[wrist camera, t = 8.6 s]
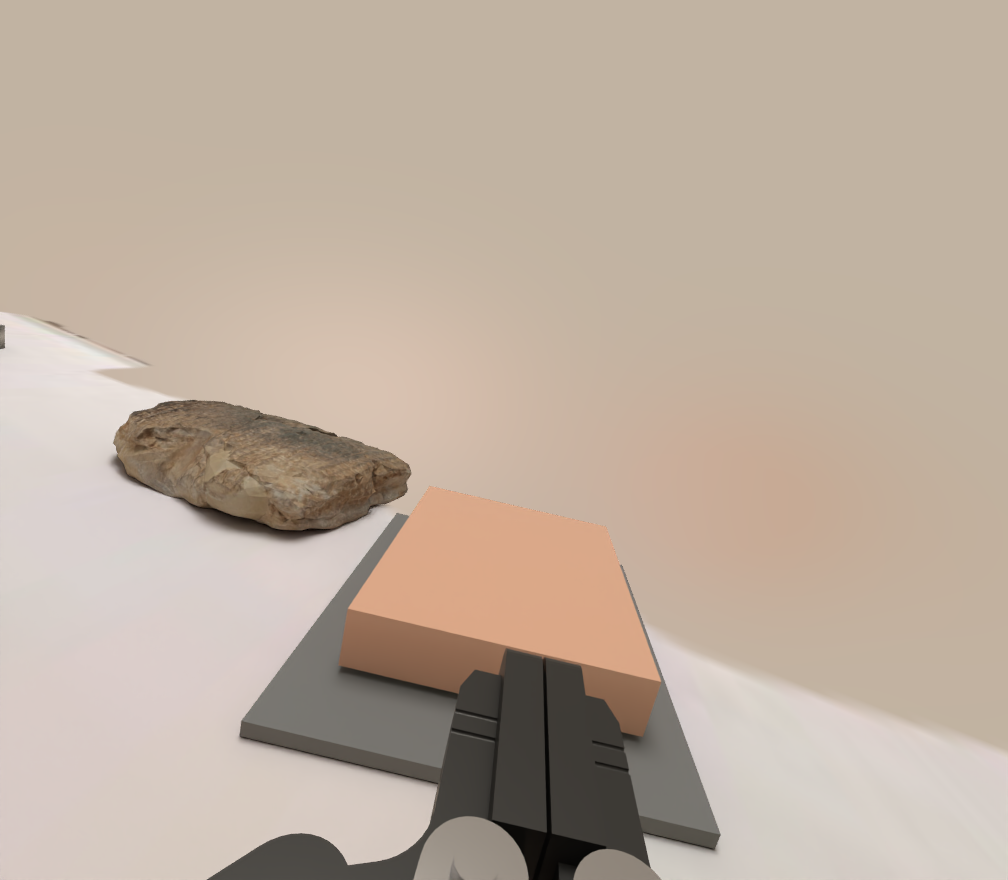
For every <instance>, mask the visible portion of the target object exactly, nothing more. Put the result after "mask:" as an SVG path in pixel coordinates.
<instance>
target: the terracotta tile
mask: <svg viewBox="0 0 1008 880" xmlns="http://www.w3.org/2000/svg"><path fill="white" fill-rule="evenodd" d="M506 648H507V649H512V650H516V651H520V652H525V653H529V654H533V655H537V656H542V659H543V658H544V657H547V658H551V659H555V660H560V661H564V662H568V663H573V664H577V665H580V666H581V668H582V673H583V680H584V687H585V694H586V695H587V696H591V697H596V698H600V699H604V700H605V702H606V703H607V705H608V706H609V708H610V710H611V711H612V713H613V714H614V716H615V717H616V719H617V720H618V722H619V725H620V729H621V732H624V733H628V734H632V735H636V736H641V737H643V735H644V732H645V729H646V726H647V723H648V720H649V717H650V714H651V711H652V708H653V705H654V702H655V699H656V696H657V693H658V691H659V688H660V685H661V679H660V677H659V674H658V671H657V668H656V665H655V663H654V660H653V657H652V654H651V651H650V649H649V646H648V643H647V640H646V637H645V634H644V632H643V629H642V626H641V623H640V620H639V618H638V615H637V612H636V609H635V606H634V604H633V601H632V598H631V595H630V592H629V590H628V587H627V584H626V581H625V578H624V575H623V573H622V570H621V567H620V564H619V561H618V559H617V556H616V553H615V551H614V548H613V545H612V542H611V539H610V536H609V533H608V531H607V528H606V527H605V526H601V525H596V524H592V523H587V522H583V521H579V520H575V519H570V518H566V517H562V516H557V515H553V514H549V513H544V512H540V511H536V510H531V509H527V508H523V507H518V506H514V505H510V504H505V503H501V502H497V501H492V500H488V499H484V498H479V497H475V496H471V495H466V494H462V493H457V492H453V491H449V490H445V489H440V488H436V487H432V486H429V488H428V489H427V491H426V493H425V494H424V496H423V497H422V498H421V500H420V501H419V503H418V504H417V506H416V507H415V509H414V510H413V512H412V513H411V515H410V516H409V518H408V519H407V521H406V522H405V524H404V525H403V527H402V528H401V530H400V531H399V533H398V534H397V536H396V537H395V539H394V540H393V542H392V543H391V545H390V546H389V548H388V549H387V551H386V552H385V554H384V555H383V557H382V558H381V560H380V561H379V563H378V564H377V566H376V567H375V569H374V570H373V572H372V573H371V575H370V576H369V578H368V579H367V581H366V582H365V584H364V585H363V586H362V588H361V589H360V591H359V592H358V594H357V595H356V597H355V598H354V600H353V601H352V603H351V604H350V606H349V607H348V610H347V616H346V622H345V628H344V634H343V640H342V646H341V652H340V658H339V664H338V665H339V666H343V667H348V668H352V669H356V670H360V671H365V672H369V673H373V674H377V675H382V676H386V677H390V678H394V679H399V680H403V681H407V682H411V683H416V684H420V685H424V686H428V687H433V688H437V689H441V690H445V691H450V692H454V693H458V694H459V690H460V686H461V685H462V683H463V682H464V681H465V680H466V679H467V678H468V677H469V676H470V674H471V673H472V672H473V671H474V670H479V671H484V672H488V673H492V674H496V675H499V671H500V667H501V663H502V659H503V655H504V652H505V649H506Z"/></svg>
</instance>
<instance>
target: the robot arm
mask: <svg viewBox="0 0 1008 880" xmlns="http://www.w3.org/2000/svg"><path fill="white" fill-rule="evenodd" d="M207 880H661V879H660V878H659V876H658V875H657V874H656V873H655V872H654V871H653V870H652V869H651V867H650V864H649V860H648V855H647V851H646V846H645V841H644V837H643V832H642V827H641V823H640V818H639V813H638V809H637V804H636V799H635V795H634V790H633V785H632V781H631V776H630V775H629V767H628V762H627V757H626V753H624V743H623V739H622V734H621V729H620V725H619V722H618V720H617V719H616V717H615V716H614V714H613V713H612V711H611V710H610V708H609V706H608V705H607V703H606V702H605V700H604V699H600V698H596V697H591V696H587V695H586V694H585V687H584V680H583V673H582V668H581V666H580V665H577V664H573V663H568V662H564V661H560V660H555V659H551V658H547V657H544V658H543V659H542V656H537V655H533V654H529V653H525V652H520V651H516V650H512V649H507V648H506V649H505V652H504V655H503V659H502V663H501V667H500V671H499V675H496V674H492V673H488V672H484V671H479V670H474V671H473V672H472V673H471V674H470V676H469V677H468V678H467V679H466V680H465V681H464V682H463V683H462V685H461V686H460V690H459V694H458V698H457V702H456V707H455V711H454V715H453V720H452V724H451V728H450V733H449V737H448V741H447V745H446V750H445V754H444V759H443V764H442V768H441V773H440V778H439V783H438V787H437V792H436V797H435V802H434V806H433V811H432V816H431V820H430V824H429V827H428V829H427V830H426V831H425V833H424V834H423V836H422V837H421V838H420V839H419V840H418V841H417V842H416V843H415V844H414V845H413V846H412V847H410V848H409V849H408V850H406V851H405V852H403V853H401V854H399V855H398V856H395V857H392V858H390V859H387V860H382V861H377V862H370V863H363V864H355V865H347V863H346V861H345V859H344V857H343V855H342V854H341V853H340V851H339V850H338V849H337V848H336V847H335V846H334V845H333V844H331V843H330V842H329V841H327V840H325V839H323V838H321V837H318V836H315V835H312V834H302V833H300V834H289V835H285V836H280V837H278V838H275V839H272V840H270V841H268V842H266V843H264V844H263V845H261V846H259V847H257V848H256V849H254V850H253V851H251V852H250V853H248V854H246V855H245V856H243V857H242V858H240V859H239V860H237V861H235V862H234V863H232V864H231V865H229V866H228V867H226V868H224V869H223V870H221V871H220V872H218V873H217V874H215V875H213V876H212V877H210V878H209V879H207Z"/></svg>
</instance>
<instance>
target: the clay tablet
mask: <svg viewBox="0 0 1008 880" xmlns="http://www.w3.org/2000/svg"><path fill="white" fill-rule="evenodd" d="M113 444H114V445H115V446H116V450H117V453H118V455H117V456H118V457H119V459H120V460H121V461H122V462H123V464H124V466H125V469H126V472H127V474H128V475H130V476H132V477H133V478H135V479H137V480H139V481H140V482H142V483H144V484H146V485H148V486H150V487H152V488H153V489H155V490H157V491H159V492H162V493H163V494H165V495H167V496H170V497H178V498H183V499H186V500H187V501H188V502H189V503H191V504H194V505H196V506H199V507H202V508H215V509H218V510H220V511H222V512H225V513H227V514H230V515H233V516H238V517H243V518H249V519H254V520H255V521H257V522H258V523H263V524H266V525H268V526H270V527H271V528H276V529H280V530H304V529H308V528H317V529H334V528H337V527H339V526H341V525H343V524H345V523H348V522H352V521H355V520H357V519H359V518H360V517H362V516H365V515H367V513H368V510H369V507H370V506H373V505H377V504H387V503H389V502H391V501H393V500H395V499H398V498H400V497H402V496H404V495H405V493H406V492H407V490H408V489H407V484H406V481H407V480H408V478H409V477H410V475H411V470H410V467H409V465H408V464H407V463H405V462H404V461H402V460H401V459H399V458H398V457H396V456H395V455H393V454H392V453H390V452H387V451H384V450H379V449H378V448H374V447H371V446H366V445H364V444H363V443H362V442H359V441H355V440H352V439H350V438H347V437H338V436H337V435H335V434H334V433H331V432H326V431H324V430H322V429H320V428H318V427H315V426H310V425H306V424H303V423H300V422H298V421H295V420H288V419H285V418H282V417H278V416H272V415H267V414H263V413H260V411H259V410H258V411H256V410H251V409H248V408H244V407H242V406H234V405H231V404H227V403H225V402H216V401H197V400H187V401H169V402H164V403H159V404H158V405H157V406H155V407H154V408H151V409H147V410H142V411H135V412H133V413H132V414H131V415H130V416H129V419H128V421H127V422H126V423H125V424H123V425H122V426H121V427H120V428H119V429H118V431H117V432H116V435H115V439H114V442H113Z"/></svg>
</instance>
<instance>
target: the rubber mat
mask: <svg viewBox="0 0 1008 880" xmlns="http://www.w3.org/2000/svg"><path fill="white" fill-rule="evenodd" d="M408 518H409V516H408V515H403V514H399V513H397V514H396V515H395V517H394V518H393V519H392V521H391V522H390V523H389V525H388V526H387V527H386V529H385V530H384V531H383V533H382V534H381V535H380V537H379V538H378V539H377V541H376V542H375V543H374V545H373V546H372V547H371V549H370V550H369V551H368V553H367V554H366V555H365V557H364V558H363V559H362V561H361V562H360V563H359V565H358V566H357V567H356V569H355V570H354V571H353V573H352V574H351V575H350V577H349V578H348V579H347V581H346V582H345V583H344V585H343V586H342V587H341V589H340V590H339V591H338V593H337V594H336V595H335V597H334V598H333V599H332V601H331V602H330V603H329V605H328V606H327V607H326V609H325V610H324V611H323V613H322V614H321V615H320V617H319V618H318V619H317V621H316V622H315V623H314V625H313V626H312V627H311V629H310V630H309V631H308V633H307V634H306V635H305V637H304V638H303V639H302V641H301V642H300V643H299V645H298V646H297V647H296V649H295V650H294V651H293V653H292V654H291V655H290V657H289V658H288V659H287V661H286V662H285V663H284V665H283V666H282V667H281V669H280V670H279V671H278V673H277V674H276V676H275V677H274V678H273V680H272V681H271V682H270V684H269V685H268V686H267V688H266V689H265V690H264V692H263V693H262V694H261V696H260V697H259V698H258V700H257V701H256V702H255V704H254V705H253V706H252V708H251V709H250V710H249V712H248V713H247V714H246V716H245V717H244V718H243V720H242V721H241V729H240V736H242V737H246V738H250V739H254V740H259V741H263V742H267V743H271V744H275V745H280V746H284V747H288V748H292V749H296V750H301V751H305V752H309V753H313V754H317V755H322V756H326V757H330V758H334V759H339V760H343V761H347V762H351V763H355V764H360V765H364V766H368V767H372V768H376V769H381V770H385V771H389V772H393V773H397V774H402V775H406V776H410V777H414V778H419V779H423V780H427V781H431V782H435V783H439V778H440V773H441V768H442V764H443V759H444V754H445V750H446V745H447V741H448V737H449V733H450V728H451V724H452V720H453V715H454V711H455V707H456V702H457V698H458V693H454V692H450V691H445V690H441V689H437V688H433V687H428V686H424V685H420V684H416V683H411V682H407V681H403V680H399V679H394V678H390V677H386V676H382V675H377V674H373V673H369V672H365V671H360V670H356V669H352V668H348V667H343V666H339V665H338V664H339V658H340V652H341V646H342V640H343V634H344V628H345V622H346V616H347V610H348V607H349V606H350V604H351V603H352V601H353V600H354V598H355V597H356V595H357V594H358V592H359V591H360V589H361V588H362V586H363V585H364V584H365V582H366V581H367V579H368V578H369V576H370V575H371V573H372V572H373V570H374V569H375V567H376V566H377V564H378V563H379V561H380V560H381V558H382V557H383V555H384V554H385V552H386V551H387V549H388V548H389V546H390V545H391V543H392V542H393V540H394V539H395V537H396V536H397V534H398V533H399V531H400V530H401V528H402V527H403V525H404V524H405V522H406V521H407V519H408ZM620 567H621V570H622V573H623V575H624V578H625V581H626V584H627V587H628V590H629V592H630V595H631V598H632V601H633V604H634V606H635V609H636V612H637V615H638V618H639V620H640V623H641V626H642V629H643V632H644V634H645V637H646V640H647V643H648V646H649V649H650V651H651V654H652V657H653V660H654V663H655V665H656V668H657V671H658V674H659V677H660V679H661V685H660V688H659V691H658V693H657V696H656V699H655V702H654V705H653V708H652V711H651V714H650V717H649V720H648V723H647V726H646V729H645V732H644V735H643V737H641V736H636V735H632V734H628V733H624V732H621V734H622V739H623V743H624V753H626V757H627V762H628V767H629V775H630V776H631V781H632V785H633V790H634V795H635V799H636V804H637V809H638V813H639V818H640V823H641V827H642V832H646V833H650V834H654V835H658V836H663V837H667V838H671V839H675V840H679V841H684V842H688V843H692V844H696V845H701V846H705V847H709V848H713V849H715V847H716V845H717V842H718V840H719V837H720V832H719V829H718V826H717V824H716V821H715V818H714V815H713V813H712V810H711V807H710V804H709V802H708V799H707V796H706V793H705V791H704V788H703V785H702V783H701V780H700V777H699V774H698V772H697V769H696V766H695V763H694V761H693V758H692V755H691V752H690V750H689V747H688V744H687V742H686V739H685V736H684V733H683V731H682V728H681V725H680V722H679V720H678V717H677V714H676V711H675V709H674V706H673V703H672V700H671V698H670V695H669V692H668V690H667V687H666V684H665V681H664V679H663V676H662V673H661V670H660V668H659V665H658V662H657V659H656V657H655V654H654V651H653V648H652V646H651V643H650V640H649V638H648V635H647V632H646V629H645V627H644V624H643V621H642V618H641V616H640V613H639V610H638V607H637V605H636V602H635V599H634V597H633V594H632V591H631V588H630V586H629V583H628V580H627V577H626V575H625V572H624V569H623V566H622V565H620Z"/></svg>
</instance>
